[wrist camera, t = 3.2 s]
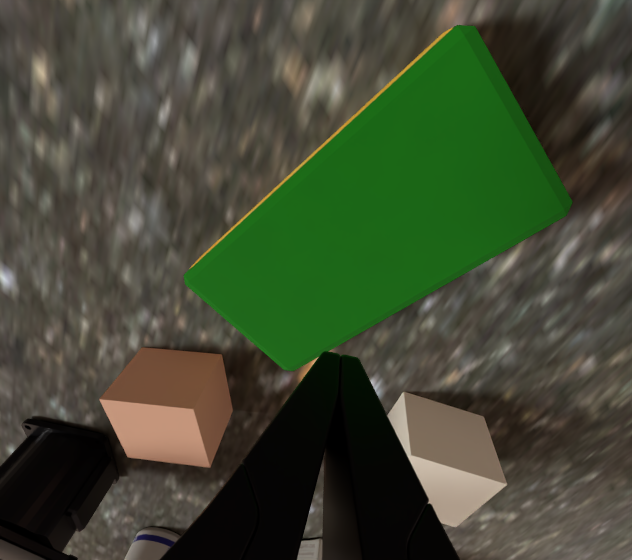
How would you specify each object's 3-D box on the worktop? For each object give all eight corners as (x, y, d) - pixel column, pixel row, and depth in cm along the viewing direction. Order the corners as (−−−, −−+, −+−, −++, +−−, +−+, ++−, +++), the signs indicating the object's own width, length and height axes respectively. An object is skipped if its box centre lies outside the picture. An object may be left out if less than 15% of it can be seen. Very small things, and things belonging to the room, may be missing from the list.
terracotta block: (162, 401, 23) (127, 457, 20) (143, 345, 21) (99, 399, 17) (233, 408, 23) (210, 467, 19) (222, 352, 20) (193, 409, 17)
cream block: (371, 437, 22) (372, 502, 19) (403, 389, 20) (411, 455, 16) (442, 459, 23) (455, 527, 19) (483, 414, 20) (507, 484, 16)
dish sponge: (546, 190, 13) (579, 211, 11) (296, 343, 19) (287, 375, 17) (450, 25, 11) (469, 14, 9) (200, 255, 17) (178, 280, 15)
